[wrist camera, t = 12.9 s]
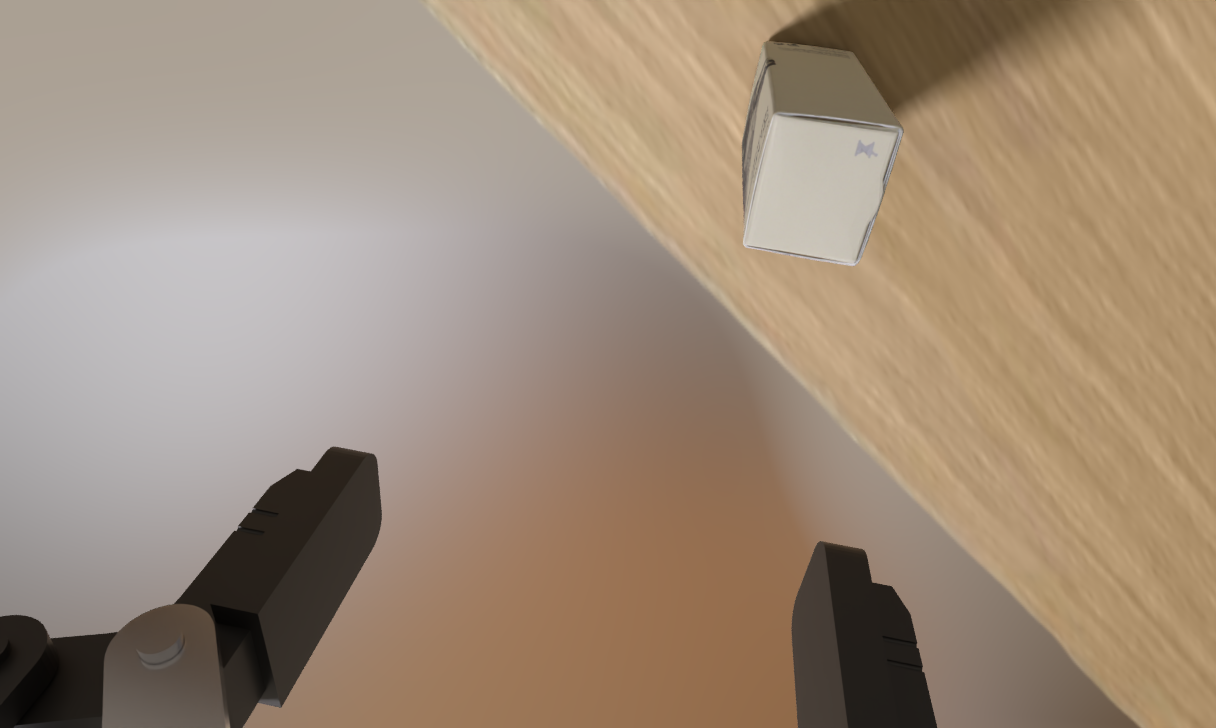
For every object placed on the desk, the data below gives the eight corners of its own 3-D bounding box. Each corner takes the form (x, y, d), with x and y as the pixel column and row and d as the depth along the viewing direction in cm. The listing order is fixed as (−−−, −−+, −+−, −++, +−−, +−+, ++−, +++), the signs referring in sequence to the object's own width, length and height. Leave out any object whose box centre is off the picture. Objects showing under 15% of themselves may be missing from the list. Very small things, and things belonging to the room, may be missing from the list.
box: (762, 37, 34) (771, 98, 23) (857, 50, 33) (911, 119, 23) (739, 149, 37) (737, 250, 26) (826, 163, 36) (861, 271, 26)
